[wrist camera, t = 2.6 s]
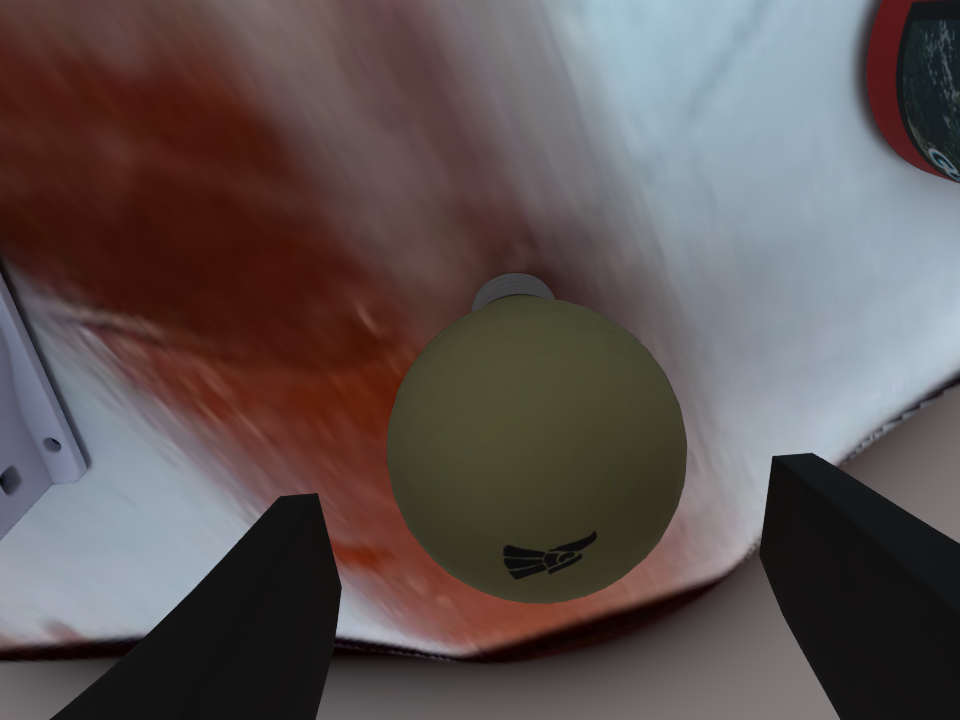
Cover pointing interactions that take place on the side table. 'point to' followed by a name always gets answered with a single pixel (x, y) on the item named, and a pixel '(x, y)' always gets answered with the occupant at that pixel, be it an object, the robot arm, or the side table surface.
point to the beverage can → (918, 82)
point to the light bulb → (536, 446)
